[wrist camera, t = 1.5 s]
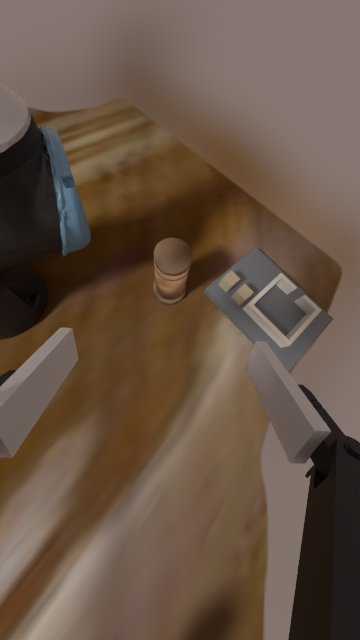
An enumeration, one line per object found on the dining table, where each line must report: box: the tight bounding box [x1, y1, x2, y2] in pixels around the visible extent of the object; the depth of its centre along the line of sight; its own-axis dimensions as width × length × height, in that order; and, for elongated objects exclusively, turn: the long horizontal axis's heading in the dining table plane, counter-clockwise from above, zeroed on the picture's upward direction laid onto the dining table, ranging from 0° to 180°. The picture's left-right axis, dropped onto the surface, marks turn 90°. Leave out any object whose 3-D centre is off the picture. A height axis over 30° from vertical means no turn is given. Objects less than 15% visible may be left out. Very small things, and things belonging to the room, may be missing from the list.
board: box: [204, 247, 333, 372], centre depth 37 cm, size 22×16×4 cm
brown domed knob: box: [153, 238, 192, 304], centre depth 33 cm, size 7×7×12 cm
